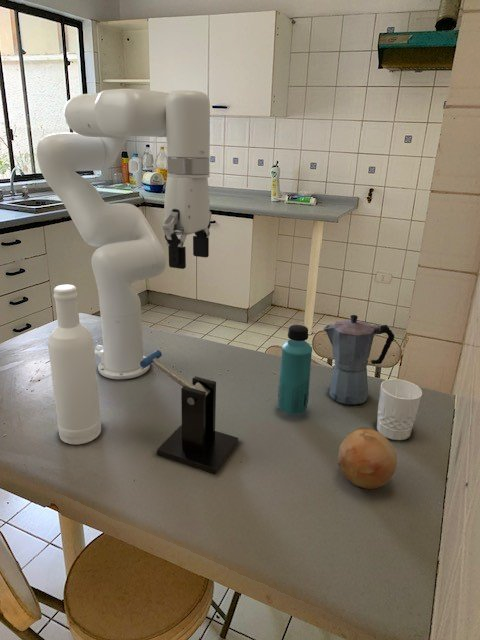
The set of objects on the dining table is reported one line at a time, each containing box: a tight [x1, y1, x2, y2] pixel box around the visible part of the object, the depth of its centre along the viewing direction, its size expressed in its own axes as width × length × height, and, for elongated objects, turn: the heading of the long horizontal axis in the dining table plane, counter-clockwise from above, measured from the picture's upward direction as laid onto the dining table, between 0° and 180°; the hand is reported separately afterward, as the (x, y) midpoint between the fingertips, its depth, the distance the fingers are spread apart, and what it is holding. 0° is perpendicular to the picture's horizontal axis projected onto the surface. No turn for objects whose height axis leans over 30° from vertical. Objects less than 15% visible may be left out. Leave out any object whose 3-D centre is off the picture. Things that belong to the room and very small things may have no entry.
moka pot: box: [322, 314, 395, 405], centre depth 104 cm, size 10×15×20 cm, turn 88°
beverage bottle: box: [277, 324, 313, 415], centre depth 97 cm, size 6×7×20 cm
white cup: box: [376, 378, 423, 441], centre depth 93 cm, size 8×8×10 cm
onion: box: [337, 426, 398, 490], centre depth 79 cm, size 10×10×10 cm
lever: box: [140, 349, 210, 398], centre depth 84 cm, size 13×5×2 cm, turn 67°
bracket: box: [156, 376, 239, 475], centre depth 85 cm, size 12×10×14 cm
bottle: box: [47, 283, 102, 445], centre depth 85 cm, size 8×8×30 cm
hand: (189, 261), depth 89 cm, fingers open, 9 cm apart
